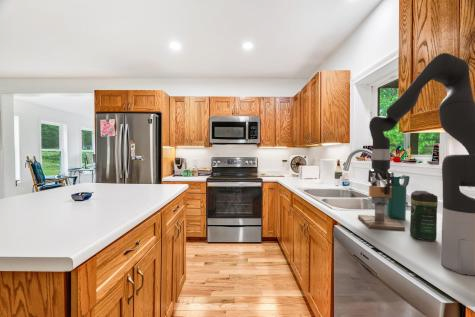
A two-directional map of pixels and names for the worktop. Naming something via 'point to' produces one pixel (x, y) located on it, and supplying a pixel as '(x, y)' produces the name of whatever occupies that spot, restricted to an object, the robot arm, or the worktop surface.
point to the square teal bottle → (397, 199)
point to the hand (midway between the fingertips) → (380, 193)
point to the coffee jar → (423, 215)
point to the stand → (380, 220)
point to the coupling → (379, 195)
